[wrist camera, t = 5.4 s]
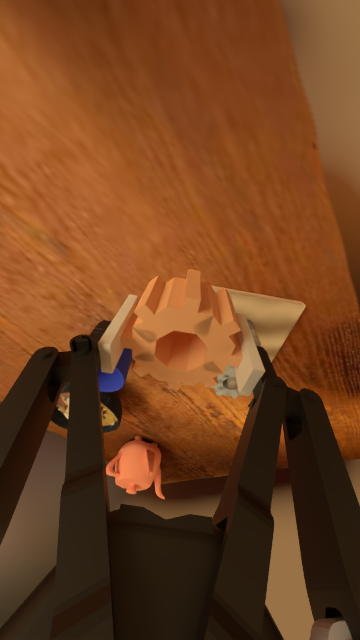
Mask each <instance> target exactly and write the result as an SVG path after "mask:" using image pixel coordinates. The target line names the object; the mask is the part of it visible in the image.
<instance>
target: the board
mask: <svg viewBox="0 0 360 640" xmlns="http://www.w3.org/2000/svg"><path fill="white" fill-rule="evenodd" d="M211 287H212V288H213V289H214V291H215V292H217V291H218V290H220V289H222V287H216V286H211ZM226 290H227V291H228V293H229V294H230V296H231V299H232V303H233V306H234V309H235V312H236V313H239V314H244V315H245V317H246V320H247V323H248V325H249V328H250V331H251V334H252V336H253V339H254V342H255V344H256V346H261V347H263V348H264V349H265V350H266V351H267V353H268V356H269V358H270V360H271V362H272V360H273V359H274V357H275V356H276V354H277V352H278V351H279V349H280V348H281V346H282V344H283V343H284V341H285V339H286V338H287V336H288V335H289V333H290V331H291V330H292V328H293V326H294V325H295V323H296V322H297V320H298V318H299V317H300V315H301V314H302V312H303V310H304V309H305V307H306V305H305V304H304V303H303V302H302V301H296V300H290V299H285V298H279V297H273V296H268V295H262V294H256V293H250V292H245V291H239V290H233V289H228V288H226ZM227 383H228V388H229V389H237V388H238V386H237V381H236V377H231V378H227Z"/></svg>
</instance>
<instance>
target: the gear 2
mask: <svg viewBox="0 0 360 640" xmlns="http://www.w3.org/2000/svg"><path fill="white" fill-rule="evenodd" d="M231 377H236V376H235V371H234V366H229V365H227V367H226V369H225V371H224V374H222V375H219V376H217V379H218V384H217V385H215V386H212V387H214V388H215V391H216V394H217V395H219V396H221V395H223V394H224V395H226V396H232V398H238V397H237V395H239V391H238V388H237V389H229V388H228V383H227V378H231ZM210 388H211V387H210Z"/></svg>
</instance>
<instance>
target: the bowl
mask: <svg viewBox="0 0 360 640" xmlns="http://www.w3.org/2000/svg"><path fill="white" fill-rule="evenodd" d="M69 396H70V382H67V383H65V384H64V386H63V389H62V392H61V394H60V397H59V399H58V402H57V404H56V407H55V409H54V412H53V414H52V417H51V419H50V420H51V421H52V422H53V423H55V424H57V425H58V426H60V427H62V428H65V429H68V415H69ZM100 401H101V413H102V425H103V433H104V432H110V431H113V430H116V429H118V427H119V425H120V422H121V417H122V407H121V402H120V399H119V397H118V395H117V393H116V391H114V392H102V391H100Z"/></svg>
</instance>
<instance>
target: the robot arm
mask: <svg viewBox="0 0 360 640" xmlns="http://www.w3.org/2000/svg"><path fill="white" fill-rule="evenodd" d="M137 305H138V296H135V295H130V294H129V296H128V297H127V299H126V300H125V302H124V304H123V305H122V307H121V308H120V310H119V311H118V313H117V314H116V316H115V317H114V319H113V320H112V321H106V320H103V321H102V322H100V323H98V325H97V326H96V327H95V329H94V330H93V332H92V333H91V334H90V336H89V335H78V336H76V337H74V338H72V339H71V340H70V347H71V351H67V352H58V350H57V349H56V348H55V347H44V348H41V349H39V350H37V351H36V352H35V353H34V354H33V355H32V357H31V358H30V360H29V361H28V363H27V364H26V366H25V368H24V369H23V371H22V372H21V374H20V375H19V377H18V379H17V380H16V382H15V383H14V385H13V386H12V388H11V389H10V391H9V393H8V394H7V396H6V397H5V399H4V400H3V402H2V404H1V405H0V544H1V542H2V540H3V538H4V535H5V533H6V531H7V528H8V526H9V523H10V521H11V518H12V515H13V513H14V511H15V508H16V506H17V503H18V500H19V498H20V495H21V493H22V491H23V488H24V485H25V483H26V480H27V478H28V475H29V473H30V470H31V468H32V465H33V462H34V460H35V458H36V455H37V452H38V450H39V447H40V445H41V442H42V440H43V437H44V435H45V432H46V430H47V427H48V425H49V422H50V419H51V417H52V414H53V412H54V409H55V407H56V404H57V402H58V399H59V397H60V394H61V392H62V389H63V386H64V384H65V383H67V382H70V396H69V415H68V434H67V454H66V455H67V456H66V472H65V482H64V484H63V486H62V491H61V501H60V516H59V532H58V549H57V564H56V565H55V566H54V568H53V569H52V570H51V571H50V572H49V573H48V574H47V575H46V577H45V578H44V579H43V580H42V581H41V582H40V583H39V585H38V586H37V587H36V588H35V589H34V590H33V591H32V592H31V594H30V595H29V596H28V597H27V598H26V599H25V600H24V602H23V603H22V604H21V605H20V606H19V607H18V608H17V609H16V611H15V612H14V613H13V614H12V615H11V616H10V617H9V619H8V620H7V621H6V622H5V623H4V624H3V626H2V627H1V628H0V640H284V639H283V637H282V635H281V633H280V631H279V629H278V627H277V626H276V624H275V622H274V620H273V618H272V616H271V614H270V612H269V610H268V608H267V607H266V605H265V599H266V591H267V582H268V574H269V565H270V557H271V548H272V540H273V532H274V520H273V517H272V515H271V511H270V509H271V500H272V493H273V486H274V479H275V471H276V464H277V457H278V450H279V443H280V435H281V428H282V424H283V431H284V438H285V445H286V452H287V460H288V467H289V473H290V480H291V488H292V495H293V502H294V509H295V516H296V523H297V530H298V537H299V544H300V551H301V559H302V566H303V572H304V578H305V583H306V589H307V594H308V597H309V602H310V606H311V610H312V614H313V618H314V621H315V622H314V624H313V625H312V629H311V636H310V640H360V506H359V503H358V500H357V497H356V494H355V492H354V489H353V486H352V483H351V480H350V477H349V475H348V472H347V469H346V466H345V463H344V461H343V458H342V455H341V452H340V449H339V446H338V444H337V441H336V438H335V435H334V432H333V430H332V427H331V424H330V421H329V418H328V415H327V413H326V410H325V407H324V404H323V401H322V400H321V398H320V397H319V396H318V394H316V393H315V392H314V391H312V390H310V389H306V388H304V389H301V390H300V392H299V391H296V390H294V389H292V388H289V387H287V385H286V383H285V382H284V381H283V380H282V379H281V378H280V377H278V376H277V375H276V372H275V370H274V368H273V365H272V363H271V360H270V358H269V356H268V353H267V351H266V350H265V349H264V348H263V347H261V346H256V344H255V342H254V339H253V336H252V334H251V331H250V328H249V325H248V323H247V320H246V317H245V315H244V314H239V313H236V316H237V319H238V322H239V326H240V329H241V331H239V332H237V337H238V341H239V344H240V348H241V352H242V356H243V359H242V361H241V363H240V365H239V367H235V366H234V371H235V376H236V381H237V386H238V391H239V395H245V396H250V395H251V393H252V392H253V394H254V398H253V399H252V401H251V403H250V404H249V406H248V407H250V408H249V411H248V414H247V418H246V421H245V424H244V427H243V430H242V434H241V437H240V440H239V443H238V446H237V449H236V453H235V456H234V459H233V462H232V465H231V469H230V472H229V475H228V479H227V481H226V484H225V488H224V491H223V494H222V497H221V500H220V503H219V506H218V508H217V510H216V512H215V514H214V516H213V519H212V517H206V516H199V515H192V514H189V515H185V516H180V517H176V518H171V519H164V518H162V517H160V516H158V515H156V514H155V513H153V512H151V511H149V510H147V509H146V508H144V507H138V506H131V505H125V504H121V505H120V509H118V510H114V511H111V512H110V506H109V496H108V487H107V475H106V463H105V450H104V438H103V425H102V413H101V401H100V388H99V376H98V371H99V369H100V367H101V372H105V373H111V374H112V373H113V371H114V369H115V367H116V365H117V362H118V360H119V358H120V356H121V354H122V352H123V350H124V348H122V347H121V344H120V337H121V335H122V333H123V331H124V329H125V327H126V325H127V323H128V321H129V320H130V318H131V316H132V314H133V312H134V310H135V308H136V306H137Z"/></svg>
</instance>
